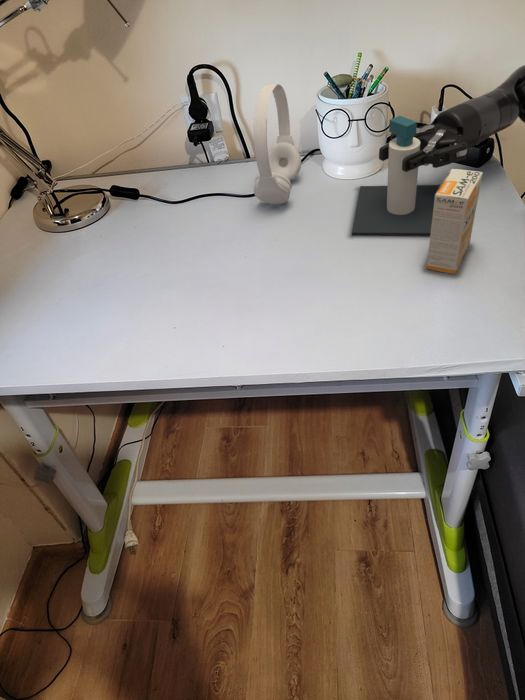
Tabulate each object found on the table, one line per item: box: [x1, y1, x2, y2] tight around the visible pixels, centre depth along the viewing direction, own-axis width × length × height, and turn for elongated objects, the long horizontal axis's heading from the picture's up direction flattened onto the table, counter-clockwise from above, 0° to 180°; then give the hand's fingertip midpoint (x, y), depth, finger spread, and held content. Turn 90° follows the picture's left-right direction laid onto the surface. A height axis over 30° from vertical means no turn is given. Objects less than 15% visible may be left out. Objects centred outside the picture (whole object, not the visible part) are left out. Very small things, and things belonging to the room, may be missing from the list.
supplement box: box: [426, 168, 484, 275], centre depth 77 cm, size 8×5×13 cm, turn 150°
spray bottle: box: [386, 115, 420, 215], centre depth 87 cm, size 5×5×16 cm
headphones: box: [253, 83, 302, 205], centre depth 96 cm, size 7×18×20 cm, turn 166°
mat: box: [351, 184, 442, 237], centre depth 92 cm, size 16×16×1 cm
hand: (392, 160), depth 84 cm, fingers closed on spray bottle, 5 cm apart
